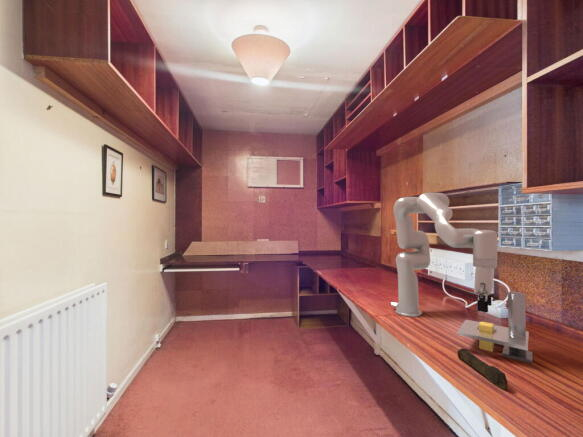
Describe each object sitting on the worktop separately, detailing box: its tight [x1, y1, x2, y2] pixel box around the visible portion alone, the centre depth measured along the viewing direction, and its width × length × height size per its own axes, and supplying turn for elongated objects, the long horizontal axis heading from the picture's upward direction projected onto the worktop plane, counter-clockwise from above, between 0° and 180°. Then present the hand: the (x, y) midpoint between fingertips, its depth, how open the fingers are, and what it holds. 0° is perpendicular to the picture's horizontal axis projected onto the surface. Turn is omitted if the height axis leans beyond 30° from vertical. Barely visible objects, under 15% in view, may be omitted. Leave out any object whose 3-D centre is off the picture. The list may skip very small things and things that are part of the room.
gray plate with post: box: [457, 291, 533, 364], centre depth 104 cm, size 21×16×22 cm
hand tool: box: [457, 347, 508, 392], centre depth 89 cm, size 19×4×4 cm, turn 0°
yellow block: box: [478, 321, 495, 352], centre depth 106 cm, size 4×4×9 cm
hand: (484, 308), depth 106 cm, fingers open, 9 cm apart
